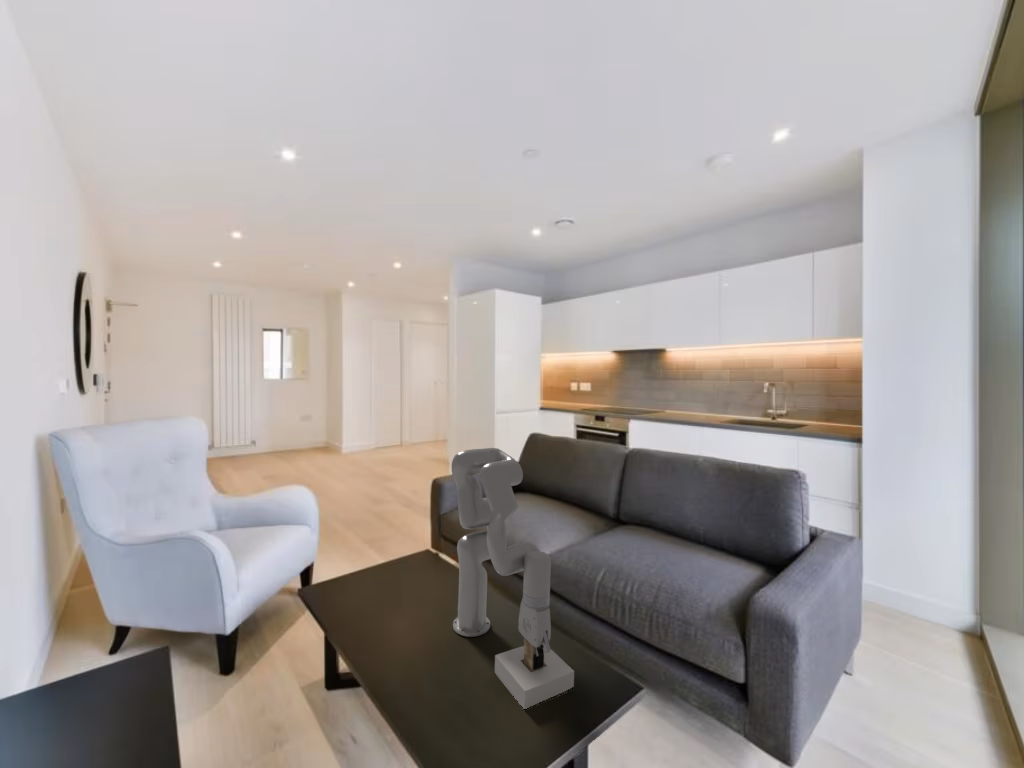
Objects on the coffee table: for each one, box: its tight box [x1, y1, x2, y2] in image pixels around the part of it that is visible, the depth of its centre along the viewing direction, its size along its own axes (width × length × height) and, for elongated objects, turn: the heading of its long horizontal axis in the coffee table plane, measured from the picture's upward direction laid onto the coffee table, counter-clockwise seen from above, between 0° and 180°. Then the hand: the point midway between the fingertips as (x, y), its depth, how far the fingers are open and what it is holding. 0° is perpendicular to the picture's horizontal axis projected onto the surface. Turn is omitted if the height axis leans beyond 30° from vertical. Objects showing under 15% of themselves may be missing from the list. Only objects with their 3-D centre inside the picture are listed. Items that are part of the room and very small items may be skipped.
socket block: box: [494, 645, 575, 710], centre depth 121 cm, size 16×16×5 cm
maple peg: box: [523, 639, 544, 672], centre depth 121 cm, size 4×4×10 cm
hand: (533, 662), depth 121 cm, fingers closed on maple peg, 3 cm apart
